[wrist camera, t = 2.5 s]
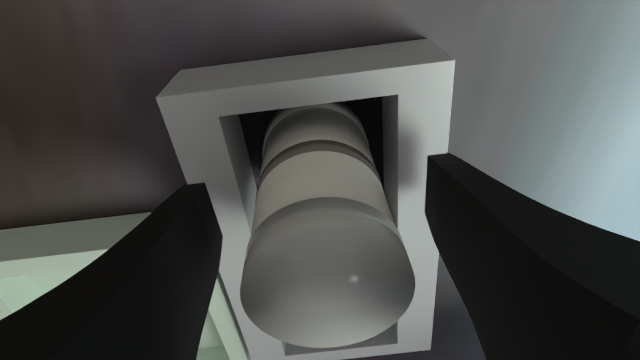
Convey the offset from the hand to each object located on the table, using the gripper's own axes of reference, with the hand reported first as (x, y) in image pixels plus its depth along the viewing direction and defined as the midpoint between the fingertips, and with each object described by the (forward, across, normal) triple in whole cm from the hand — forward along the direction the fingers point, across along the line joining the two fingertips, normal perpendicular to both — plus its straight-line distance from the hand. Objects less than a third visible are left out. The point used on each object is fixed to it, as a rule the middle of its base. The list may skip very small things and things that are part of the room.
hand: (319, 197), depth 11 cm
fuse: (+3, 0, 0) cm, 3 cm away
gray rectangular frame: (+3, 0, +3) cm, 5 cm away
